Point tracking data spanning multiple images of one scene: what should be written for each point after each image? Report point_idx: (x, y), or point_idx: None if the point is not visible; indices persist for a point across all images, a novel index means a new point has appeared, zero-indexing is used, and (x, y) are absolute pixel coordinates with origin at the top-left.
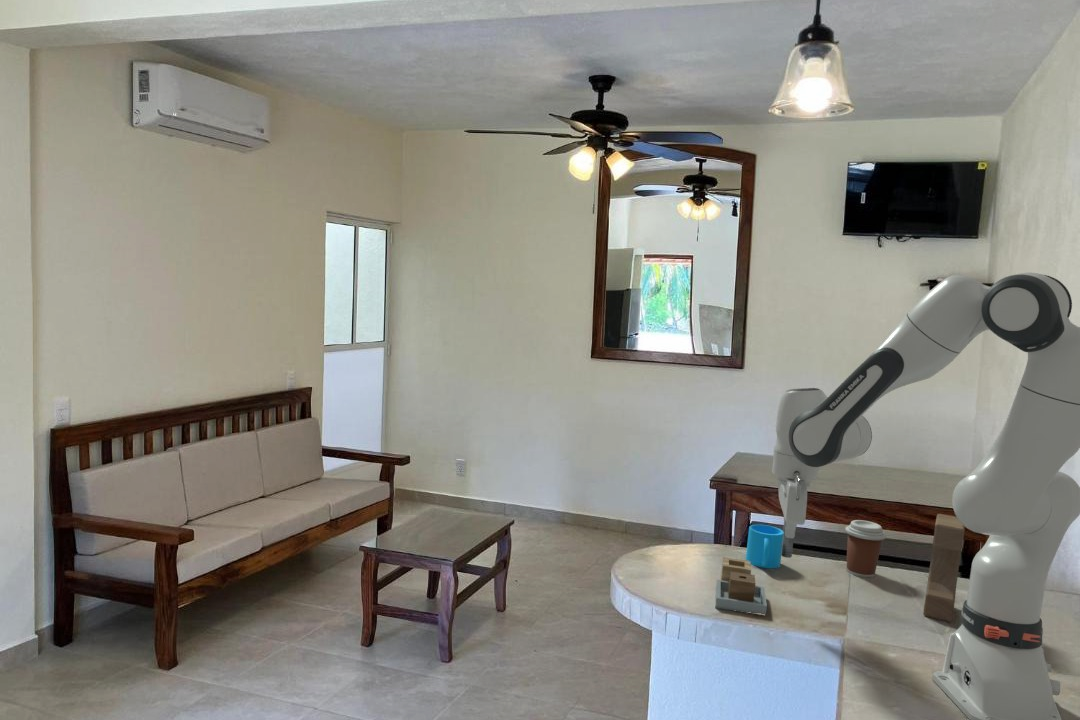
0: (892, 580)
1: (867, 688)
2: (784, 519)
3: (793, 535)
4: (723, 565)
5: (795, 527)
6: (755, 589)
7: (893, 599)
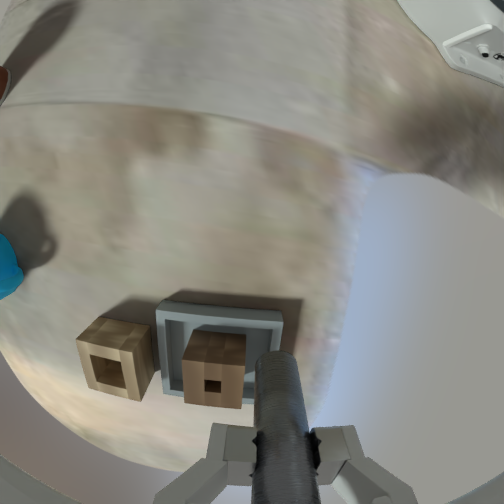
0: (20, 42)
1: (497, 186)
2: (212, 499)
3: (356, 435)
4: (139, 400)
5: (383, 469)
6: (167, 326)
7: (91, 26)
